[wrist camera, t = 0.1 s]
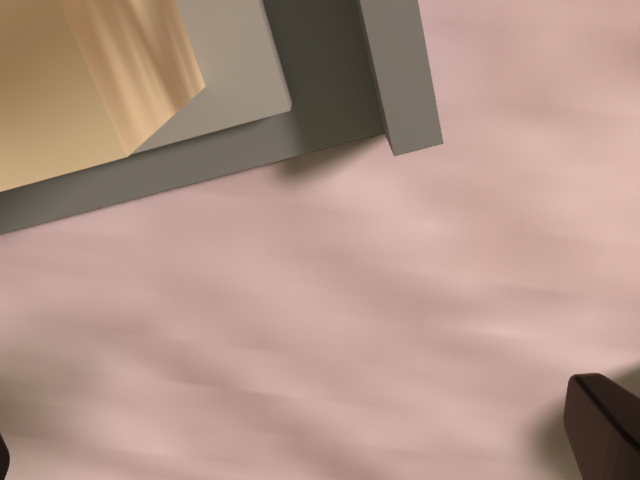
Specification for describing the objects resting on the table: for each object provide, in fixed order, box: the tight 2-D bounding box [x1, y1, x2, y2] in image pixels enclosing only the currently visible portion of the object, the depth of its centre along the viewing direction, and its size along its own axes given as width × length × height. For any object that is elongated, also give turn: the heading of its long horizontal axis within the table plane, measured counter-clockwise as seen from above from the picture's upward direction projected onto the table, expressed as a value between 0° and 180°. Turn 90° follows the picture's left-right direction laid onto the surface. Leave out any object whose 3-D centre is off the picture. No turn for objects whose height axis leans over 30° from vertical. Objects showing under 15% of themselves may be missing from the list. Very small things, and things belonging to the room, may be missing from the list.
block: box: [0, 0, 205, 192], centre depth 14 cm, size 5×5×8 cm
